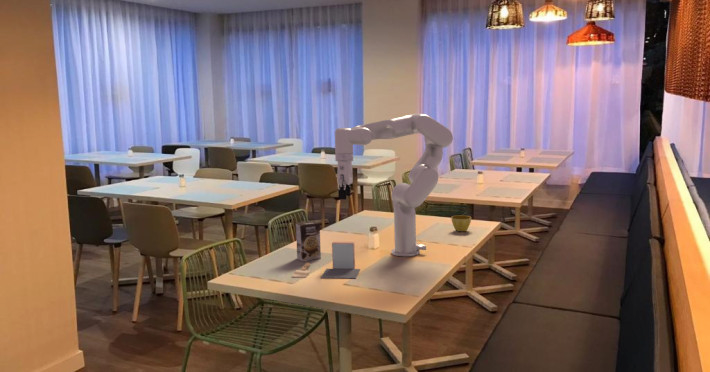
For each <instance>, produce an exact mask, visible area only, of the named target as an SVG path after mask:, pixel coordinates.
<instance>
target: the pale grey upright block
mask: <svg viewBox="0 0 710 372" xmlns="http://www.w3.org/2000/svg"><path fill="white" fill-rule="evenodd" d="M355 248H356V246H355V241H332V242H331V249H332V250H331V251H332V253H331V255H332V258H331V259H332V269H356V253H355V252H356V251H355V250H356V249H355Z"/></svg>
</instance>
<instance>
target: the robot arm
mask: <svg viewBox="0 0 710 372" xmlns="http://www.w3.org/2000/svg"><path fill="white" fill-rule="evenodd" d="M414 134H419V135H422V136H423V139H424V144H425V148H424V152H423V153H422V155H421V157H420V158H419V159H418V160H417V162H416V163H415V165H414V166H413V167H412V168H411V169H410V171H409V173H408V179H409V181H410V183H411V184H410V183H406V182H402V183H401V182H400V183H398V184H397V185H395V186H394V187H393V189H392V192H391V200H392V205H393V218H394V219H393V221H394V222H393V223H394V226H393V227H394V231H393V232H394V248H393V249H391V252H390V253H391V255H393V256H397V257H405V258H407V257H414V256H415V257H416V256H418V255H420V254H421V253H420V252H421V251H420V250H422V251H426V250H427V245H424V244H418V241H417V232H416V231H417V228H416V227H417V226H416V225H417V224H416V222H417V220H416V218H417V216H416V215H417V214H416V208H418V207H420V206H422V205H423V203H424V202H425V201H426V199H427V198H428V197H429V195H430V194H431V193H432V191H433V190H434V189H435V188H436V186H437V184H438V183H439V182H438V181H439V172H438V171H437V169H438V167H439V165H440V164H441V162H442V160H443V158H444V157H443V154H444V150H443V149H444V148H447V147H449V146H450V145H451V144H452V143H453V140H454V137H453V132H452V131H451V130H450V129H449V128H448V127H447V126H445V125H443V124H442V123H440V122H439V121H438V120H437V119H435V118H433V117H432V116H429V115H428V114H425V113H412V114H407V115H403V116H399V117H395V118H389V119H385V120H380V121H376V122H374V121H373V122H371V123H365V124H360V125H357V126H353V127H352V128H350V127H339V128H335V130H334V140H335V141H334V148H335V149H334V150H335V152H334V153H335V154H334V155H335V157H334V158H335V159H334V160H335V162H337V166H336V167H337V173H336V174H337V176H336V177H337V184H338V191H337V192H338V193H337V194H338V195H337V196H338V200H347V197H349V196H351V195H352V194H351V193H352V192H351V189H352V188H351V184H352V183H353V181H354V180H353V179H354V178H353V176H354V175H353V164H352V162H353V161H354V145H357V146H358V145H359V146H367V145H369V144H371V142H372V141H374V140H392V139H393V140H394V139H398V138H402V137H406V136H410V135H414Z"/></svg>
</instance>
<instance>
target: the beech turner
mask: <svg viewBox="0 0 710 372" xmlns="http://www.w3.org/2000/svg"><path fill="white" fill-rule="evenodd" d="M310 266H311V263H310V262H305V264H304V265H303V266H302V268H301V269H296V270H295V271H294V272H293V274H292V275H291V278H297V279H298V278H301V279H303V278H304V279H305V278H306V279H307V277H308V276H309V274H310V273H311V270H308V269H309V268H310Z"/></svg>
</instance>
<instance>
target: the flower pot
mask: <svg viewBox="0 0 710 372" xmlns="http://www.w3.org/2000/svg"><path fill="white" fill-rule="evenodd" d="M451 222H452V226H453V228H454V230H455V231H456V230H457V231H466V230H467V231H468V229H469V228H470V225H471V223H472V217H471V216H470V215H464V214H463V215H461V214H460V215H453V216H451ZM457 231H456V232H457ZM467 231H466V232H467Z"/></svg>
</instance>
